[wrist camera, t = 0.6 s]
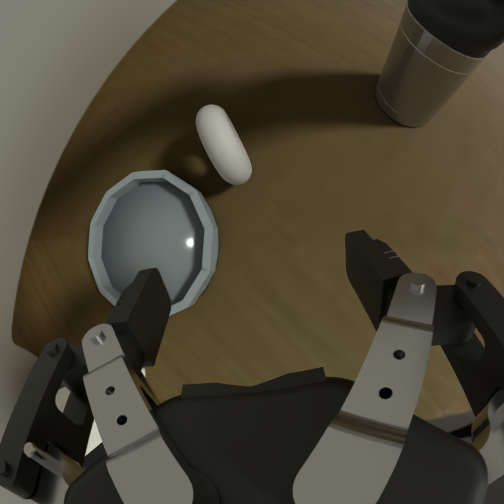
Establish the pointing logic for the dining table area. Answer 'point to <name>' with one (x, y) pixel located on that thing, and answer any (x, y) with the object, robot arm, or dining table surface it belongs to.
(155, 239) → the bowl
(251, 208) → the dining table surface
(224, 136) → the donut
